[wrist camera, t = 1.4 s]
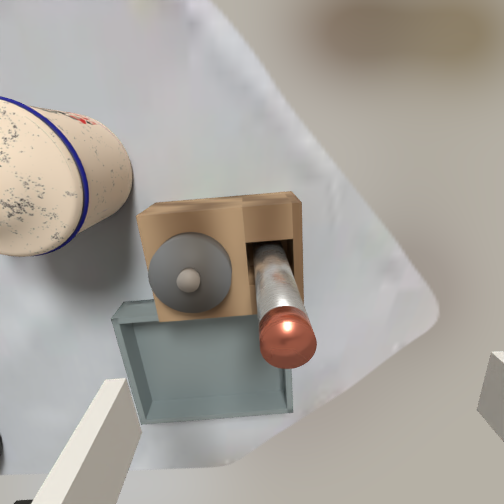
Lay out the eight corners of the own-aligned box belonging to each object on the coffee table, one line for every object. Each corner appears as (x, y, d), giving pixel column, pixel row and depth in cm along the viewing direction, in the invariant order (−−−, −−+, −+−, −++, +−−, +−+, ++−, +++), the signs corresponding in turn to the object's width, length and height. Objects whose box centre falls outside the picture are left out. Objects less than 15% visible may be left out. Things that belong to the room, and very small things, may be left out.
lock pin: (253, 260, 27) (261, 371, 14) (251, 233, 26) (258, 324, 13) (282, 257, 27) (316, 366, 14) (280, 230, 26) (316, 319, 13)
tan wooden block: (173, 293, 29) (151, 339, 22) (155, 202, 26) (123, 224, 19) (294, 283, 29) (309, 326, 22) (291, 191, 26) (308, 209, 19)
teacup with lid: (108, 95, 23) (-13, 54, 12) (153, 206, 26) (88, 252, 15) (-29, 139, 24) (-256, 138, 13) (30, 242, 27) (-114, 309, 16)
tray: (149, 401, 34) (141, 424, 31) (123, 301, 30) (110, 318, 27) (289, 390, 34) (293, 412, 31) (284, 288, 29) (288, 304, 27)
